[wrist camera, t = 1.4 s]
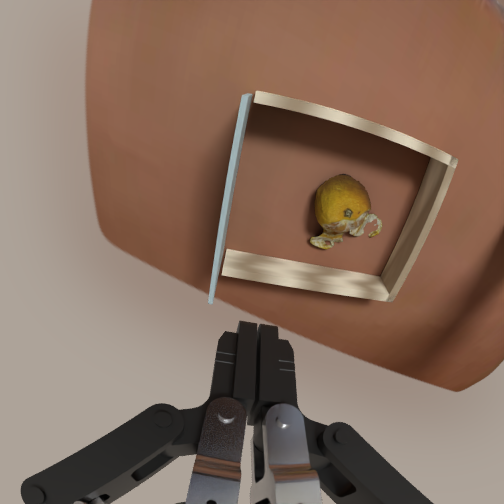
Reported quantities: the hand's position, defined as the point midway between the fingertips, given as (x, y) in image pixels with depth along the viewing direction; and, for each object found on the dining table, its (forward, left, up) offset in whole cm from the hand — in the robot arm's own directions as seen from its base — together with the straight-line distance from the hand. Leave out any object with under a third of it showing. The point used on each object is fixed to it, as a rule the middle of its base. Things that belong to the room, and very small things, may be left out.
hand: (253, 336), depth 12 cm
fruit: (-9, +2, -20) cm, 22 cm away
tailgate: (+2, 0, -19) cm, 19 cm away
